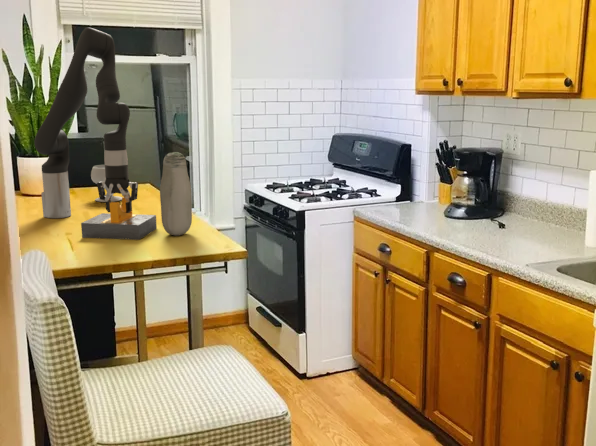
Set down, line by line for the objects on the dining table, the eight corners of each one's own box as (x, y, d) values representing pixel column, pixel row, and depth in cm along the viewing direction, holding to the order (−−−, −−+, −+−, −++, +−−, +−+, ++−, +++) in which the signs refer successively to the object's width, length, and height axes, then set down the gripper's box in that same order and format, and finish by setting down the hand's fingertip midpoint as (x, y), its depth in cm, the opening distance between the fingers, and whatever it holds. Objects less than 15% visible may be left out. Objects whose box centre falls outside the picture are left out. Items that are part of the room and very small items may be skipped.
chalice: (94, 204, 272) (92, 168, 269) (91, 198, 285) (88, 164, 281) (128, 201, 277) (126, 167, 274) (123, 196, 290) (121, 163, 287)
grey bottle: (189, 238, 214) (186, 154, 208) (159, 237, 214) (155, 154, 208) (195, 231, 224) (192, 150, 218) (165, 231, 224) (162, 150, 218)
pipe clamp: (120, 214, 226) (119, 196, 224) (132, 215, 225) (131, 196, 224) (105, 221, 214) (104, 202, 213) (118, 222, 214) (117, 203, 212)
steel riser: (82, 237, 214) (81, 222, 213) (103, 227, 230) (102, 212, 229) (139, 239, 212) (138, 224, 211) (156, 228, 227) (155, 214, 226)
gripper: (90, 164, 213) (94, 213, 217) (132, 165, 211) (135, 215, 215) (100, 161, 220) (103, 209, 224) (141, 162, 218) (143, 210, 222)
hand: (119, 212), depth 219 cm, fingers open, 6 cm apart
